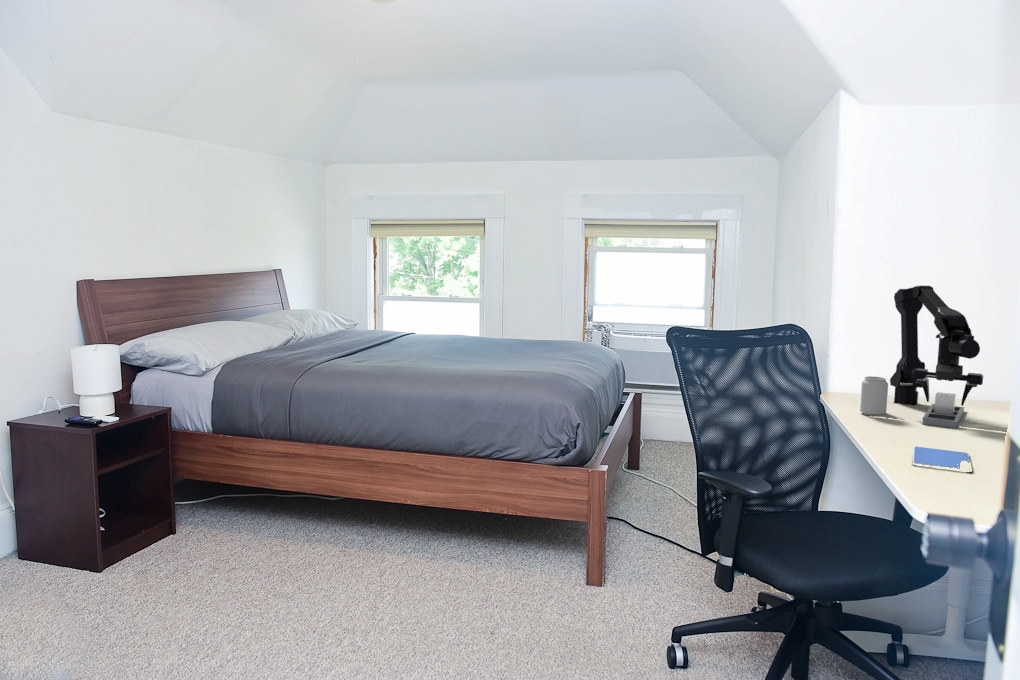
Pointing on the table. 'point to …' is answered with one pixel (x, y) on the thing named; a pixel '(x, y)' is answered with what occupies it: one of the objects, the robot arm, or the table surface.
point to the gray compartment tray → (943, 418)
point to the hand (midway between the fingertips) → (944, 403)
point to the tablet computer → (939, 457)
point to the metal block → (944, 403)
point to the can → (874, 396)
